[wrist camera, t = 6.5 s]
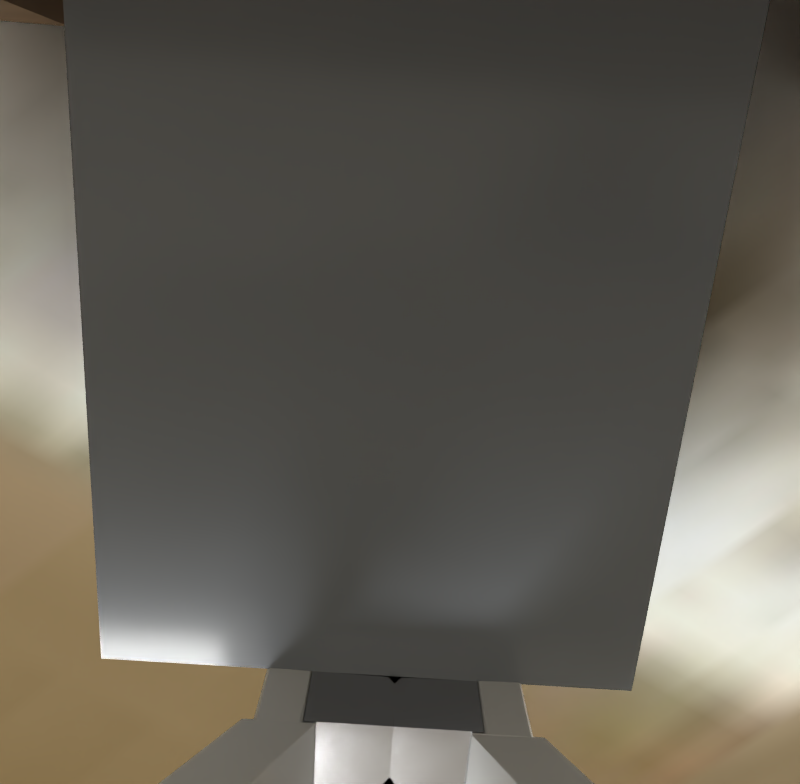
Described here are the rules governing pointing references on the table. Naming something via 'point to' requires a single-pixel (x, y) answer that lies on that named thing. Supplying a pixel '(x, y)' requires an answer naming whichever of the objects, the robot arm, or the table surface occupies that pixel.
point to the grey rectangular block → (395, 321)
